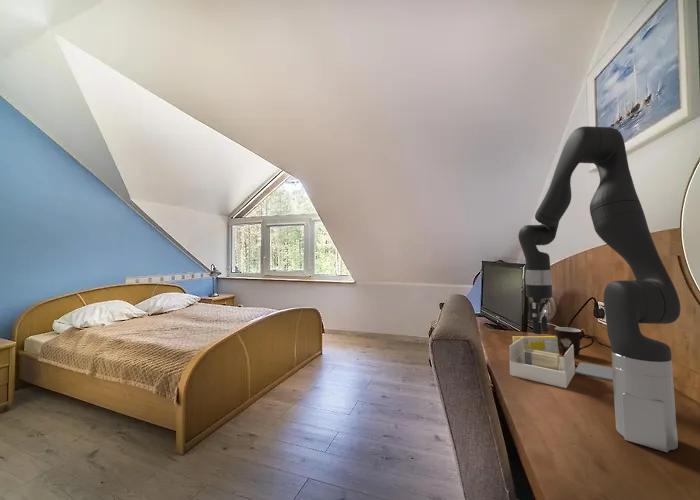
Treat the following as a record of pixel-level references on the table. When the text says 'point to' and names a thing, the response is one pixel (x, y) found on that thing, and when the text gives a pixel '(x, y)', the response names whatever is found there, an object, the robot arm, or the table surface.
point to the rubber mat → (595, 371)
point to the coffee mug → (569, 339)
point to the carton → (539, 373)
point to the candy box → (539, 343)
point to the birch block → (542, 359)
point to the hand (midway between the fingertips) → (540, 331)
